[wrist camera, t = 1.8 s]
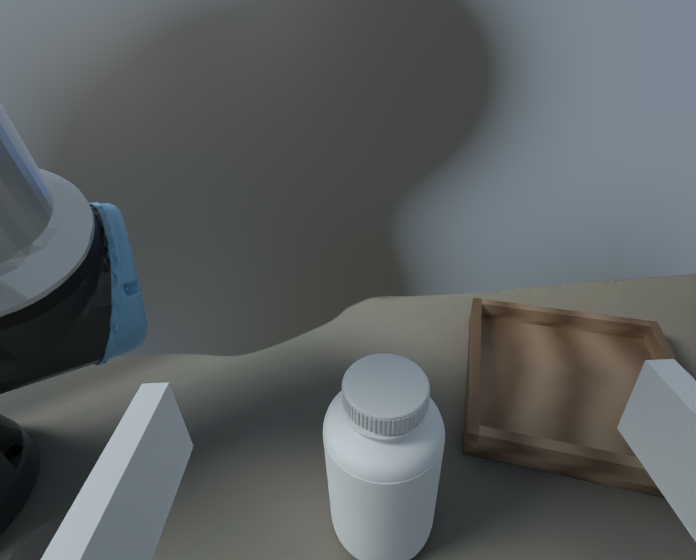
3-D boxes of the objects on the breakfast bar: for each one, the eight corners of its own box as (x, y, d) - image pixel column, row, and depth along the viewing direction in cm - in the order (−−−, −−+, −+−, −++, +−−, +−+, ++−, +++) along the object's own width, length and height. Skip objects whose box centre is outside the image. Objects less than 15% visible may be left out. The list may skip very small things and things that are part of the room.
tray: (462, 453, 37) (467, 432, 35) (470, 316, 53) (473, 298, 51) (727, 511, 32) (746, 490, 30) (647, 341, 48) (657, 321, 46)
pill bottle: (418, 461, 36) (432, 332, 28) (445, 563, 30) (473, 434, 21) (328, 472, 36) (315, 343, 28) (335, 578, 29) (321, 451, 21)
